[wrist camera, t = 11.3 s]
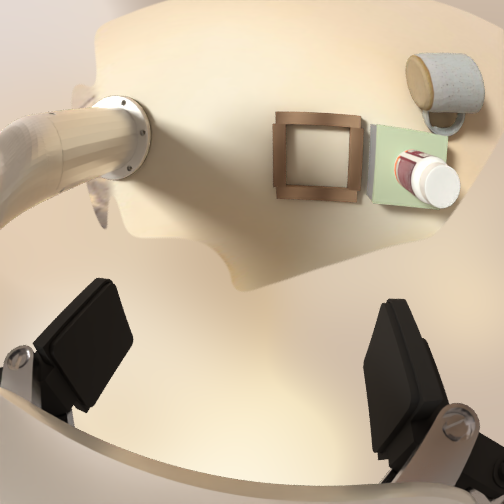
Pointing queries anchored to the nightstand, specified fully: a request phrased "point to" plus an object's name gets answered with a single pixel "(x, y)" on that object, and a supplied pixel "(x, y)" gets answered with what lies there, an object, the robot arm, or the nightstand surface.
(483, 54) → the nightstand surface
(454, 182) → the pill bottle
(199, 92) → the nightstand surface
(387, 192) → the green square block
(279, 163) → the base
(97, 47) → the nightstand surface
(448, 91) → the ceramic mug
